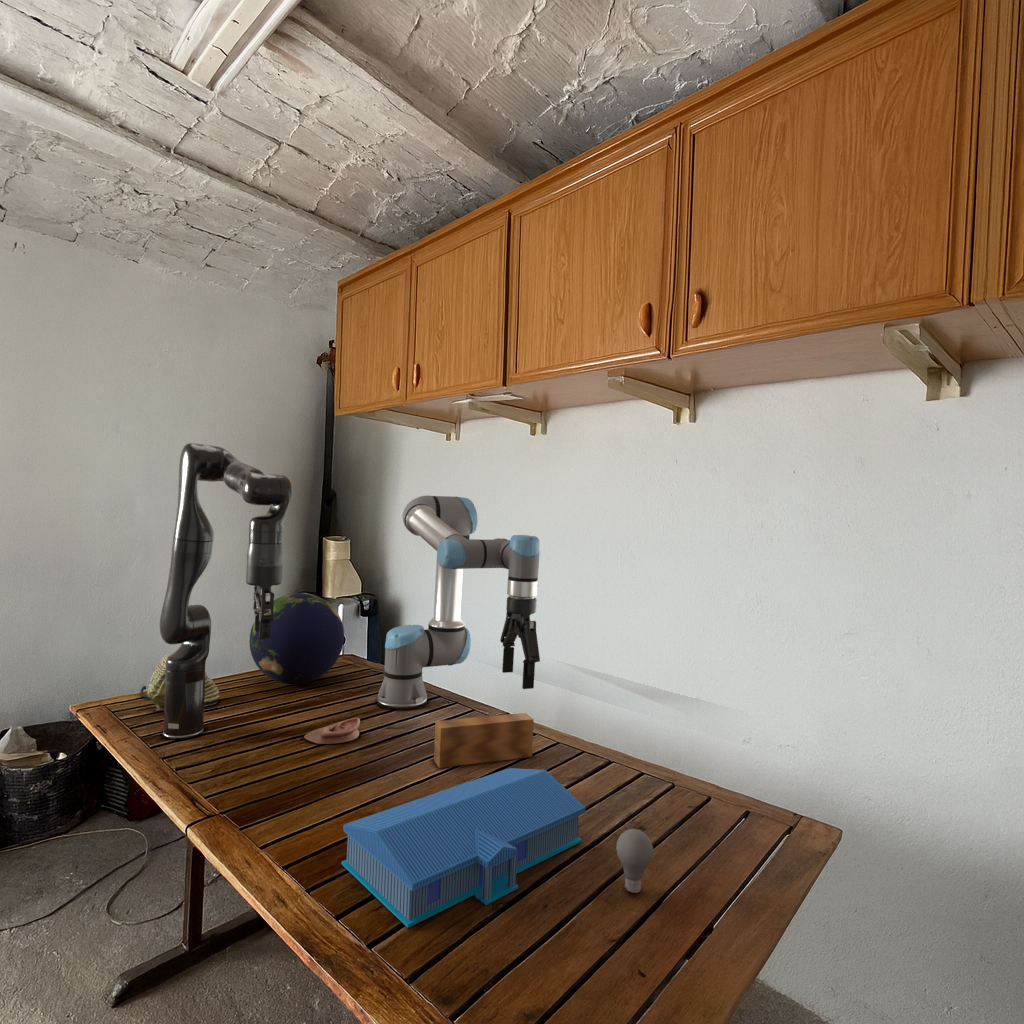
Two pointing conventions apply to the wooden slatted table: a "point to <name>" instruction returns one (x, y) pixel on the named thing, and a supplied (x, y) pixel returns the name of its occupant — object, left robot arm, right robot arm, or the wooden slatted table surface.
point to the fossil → (158, 687)
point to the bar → (483, 739)
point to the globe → (299, 639)
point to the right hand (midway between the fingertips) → (517, 680)
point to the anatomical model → (335, 732)
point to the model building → (462, 842)
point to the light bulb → (634, 857)
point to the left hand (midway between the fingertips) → (262, 635)
